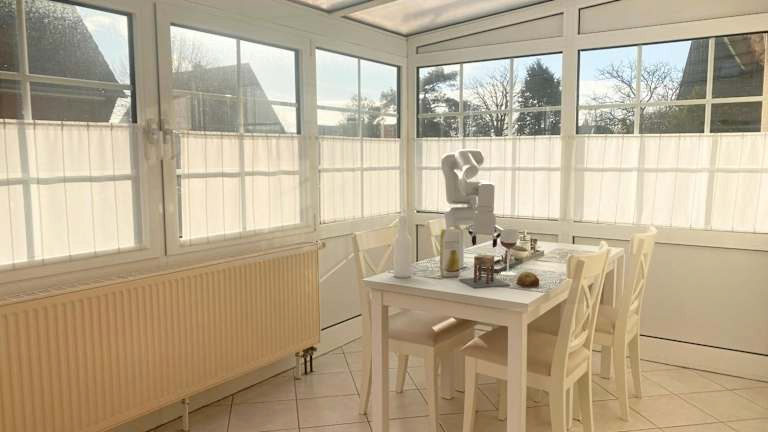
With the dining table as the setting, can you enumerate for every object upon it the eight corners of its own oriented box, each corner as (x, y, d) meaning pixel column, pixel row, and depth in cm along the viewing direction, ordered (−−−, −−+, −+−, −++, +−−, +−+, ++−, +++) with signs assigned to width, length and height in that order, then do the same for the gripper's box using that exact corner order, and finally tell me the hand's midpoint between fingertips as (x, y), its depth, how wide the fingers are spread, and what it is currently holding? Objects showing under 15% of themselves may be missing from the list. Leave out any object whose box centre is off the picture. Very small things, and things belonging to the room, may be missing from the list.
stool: (473, 282, 262) (474, 256, 260) (478, 279, 268) (479, 254, 267) (488, 284, 258) (489, 258, 257) (493, 280, 264) (494, 255, 263)
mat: (458, 280, 269) (458, 278, 269) (492, 277, 274) (492, 276, 274) (473, 288, 252) (474, 287, 252) (510, 285, 257) (510, 284, 257)
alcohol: (391, 277, 274) (391, 215, 271) (396, 273, 283) (397, 213, 279) (408, 278, 271) (408, 216, 268) (413, 274, 280) (414, 214, 276)
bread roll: (517, 290, 264) (510, 275, 263) (536, 280, 265) (530, 265, 264) (524, 295, 255) (517, 280, 254) (544, 285, 255) (537, 270, 254)
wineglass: (517, 275, 279) (519, 231, 276) (497, 274, 281) (499, 230, 278) (517, 272, 287) (518, 229, 285) (497, 271, 289) (499, 228, 287)
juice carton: (444, 277, 274) (444, 228, 271) (438, 274, 281) (438, 226, 278) (461, 276, 276) (462, 228, 273) (455, 273, 284) (456, 225, 281)
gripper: (464, 209, 260) (463, 245, 262) (501, 211, 252) (499, 249, 254) (470, 207, 267) (469, 243, 269) (506, 210, 258) (504, 246, 261)
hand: (484, 246), depth 262 cm, fingers open, 9 cm apart
